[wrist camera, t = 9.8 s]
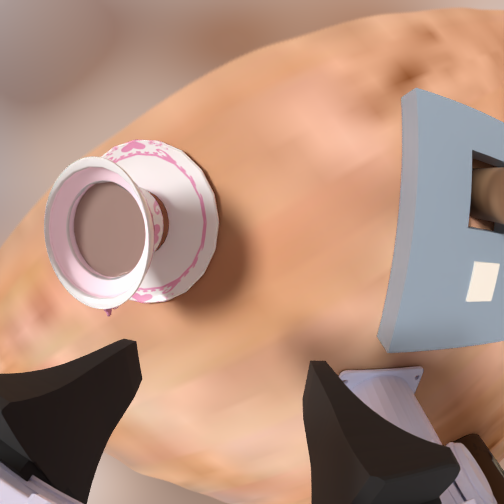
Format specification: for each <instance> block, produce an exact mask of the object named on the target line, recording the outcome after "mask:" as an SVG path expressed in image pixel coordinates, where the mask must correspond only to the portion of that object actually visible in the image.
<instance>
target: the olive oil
mask: <svg viewBox="0 0 504 504" xmlns="http://www.w3.org/2000/svg"><path fill="white" fill-rule="evenodd" d="M454 443H462V444H463V445H464V446H465V447H466V448H467V449H468V451H469V452H470V453H471V455H472V456H473V457H474V459H475V460H476V462H477V464H478V465H479V467H480V468H481V470H482V472H483V474H484V475H485V477H486V479H487V481H488V483H489V485H490V488H491V490H492V493H493V496H494V498H495V499H496V501H497V504H504V470H503V469H502V468H501V466H500V465H499V463H498V462H497V460H496V459H495V458H494V456H493V455H492V453H491V452H490V451H489V449H488V448H487V446H486V445H485V443H484V442H483V441H482V439H481V438H480V437H479V435H477V434H471V435H468V436H465V437H463V438H461V439H459V440H457V441H455V442H454Z"/></svg>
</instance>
